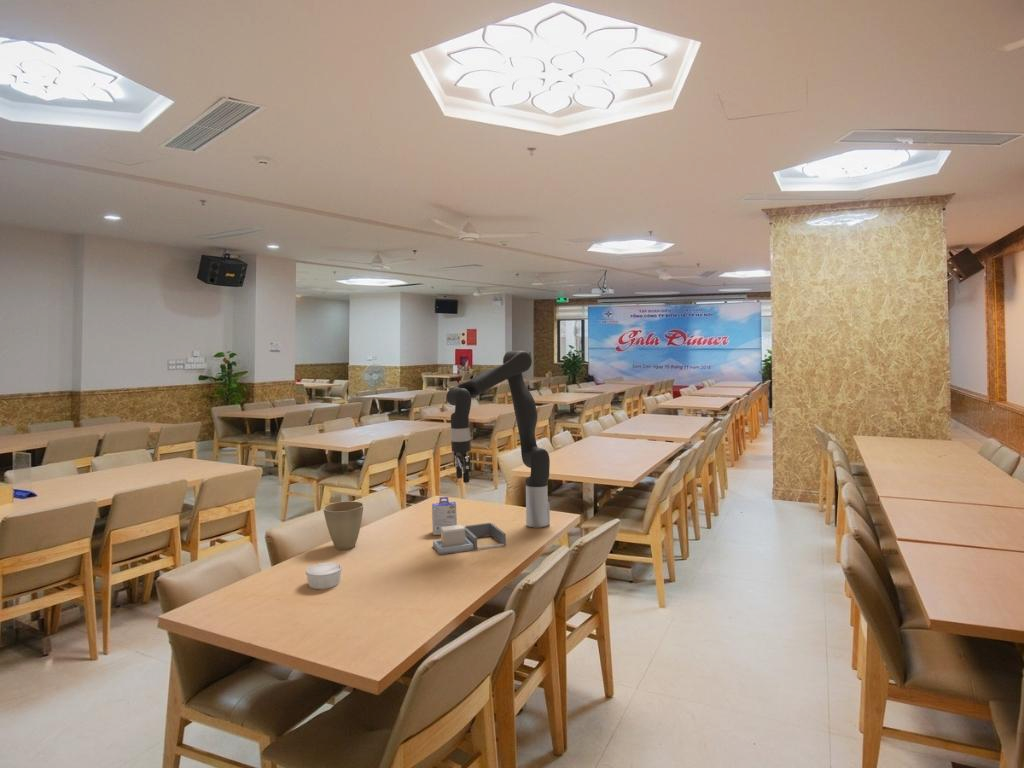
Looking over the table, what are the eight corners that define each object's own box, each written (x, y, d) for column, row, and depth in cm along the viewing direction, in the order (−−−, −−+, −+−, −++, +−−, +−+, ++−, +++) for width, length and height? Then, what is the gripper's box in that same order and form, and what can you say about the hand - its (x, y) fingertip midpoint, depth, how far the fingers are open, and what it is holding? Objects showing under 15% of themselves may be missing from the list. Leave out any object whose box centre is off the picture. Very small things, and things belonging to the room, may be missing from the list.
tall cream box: (461, 542, 227) (461, 524, 227) (465, 546, 222) (464, 528, 222) (440, 545, 224) (440, 527, 224) (444, 549, 219) (443, 530, 219)
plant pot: (340, 539, 236) (339, 499, 235) (372, 542, 231) (371, 502, 230) (316, 551, 222) (314, 509, 221) (349, 555, 217) (348, 512, 216)
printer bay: (492, 534, 239) (492, 522, 239) (506, 545, 225) (506, 532, 225) (463, 538, 235) (462, 526, 234) (475, 550, 220) (474, 537, 220)
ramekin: (338, 590, 185) (337, 574, 185) (301, 592, 185) (301, 575, 184) (345, 576, 197) (345, 561, 196) (311, 578, 196) (310, 562, 196)
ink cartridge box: (456, 530, 246) (455, 495, 245) (457, 534, 240) (456, 499, 240) (432, 531, 245) (431, 497, 244) (432, 535, 239) (431, 500, 238)
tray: (465, 541, 230) (465, 536, 230) (473, 549, 221) (473, 544, 221) (433, 546, 225) (432, 540, 225) (439, 554, 216) (439, 548, 216)
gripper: (475, 440, 223) (477, 482, 224) (464, 435, 236) (466, 475, 237) (456, 442, 220) (459, 485, 221) (446, 437, 233) (448, 477, 234)
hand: (462, 480), depth 229 cm, fingers open, 8 cm apart
